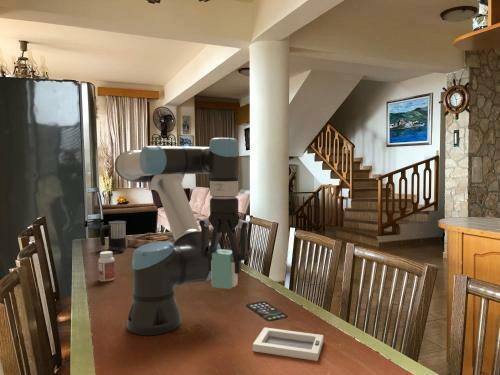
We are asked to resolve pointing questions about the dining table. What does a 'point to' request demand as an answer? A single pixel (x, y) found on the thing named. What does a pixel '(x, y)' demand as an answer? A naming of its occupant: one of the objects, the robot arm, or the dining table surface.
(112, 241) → the milk frother
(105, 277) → the pill bottle
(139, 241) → the book tray
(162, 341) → the dining table surface
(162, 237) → the decorative book
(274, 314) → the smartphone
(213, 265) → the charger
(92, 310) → the dining table surface
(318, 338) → the white shallow tray
